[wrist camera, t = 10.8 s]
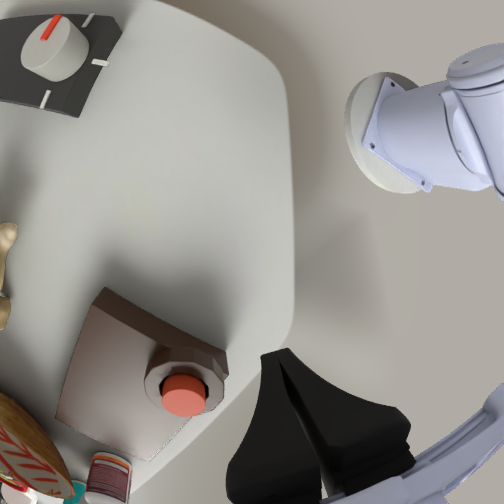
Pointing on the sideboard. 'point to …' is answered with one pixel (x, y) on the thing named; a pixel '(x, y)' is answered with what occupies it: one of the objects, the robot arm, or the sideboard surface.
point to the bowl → (31, 452)
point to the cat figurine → (3, 239)
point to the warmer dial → (55, 49)
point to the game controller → (0, 491)
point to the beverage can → (76, 492)
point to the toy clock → (12, 482)
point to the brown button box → (133, 377)
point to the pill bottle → (108, 480)
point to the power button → (183, 395)
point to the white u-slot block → (18, 495)
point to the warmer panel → (39, 88)
